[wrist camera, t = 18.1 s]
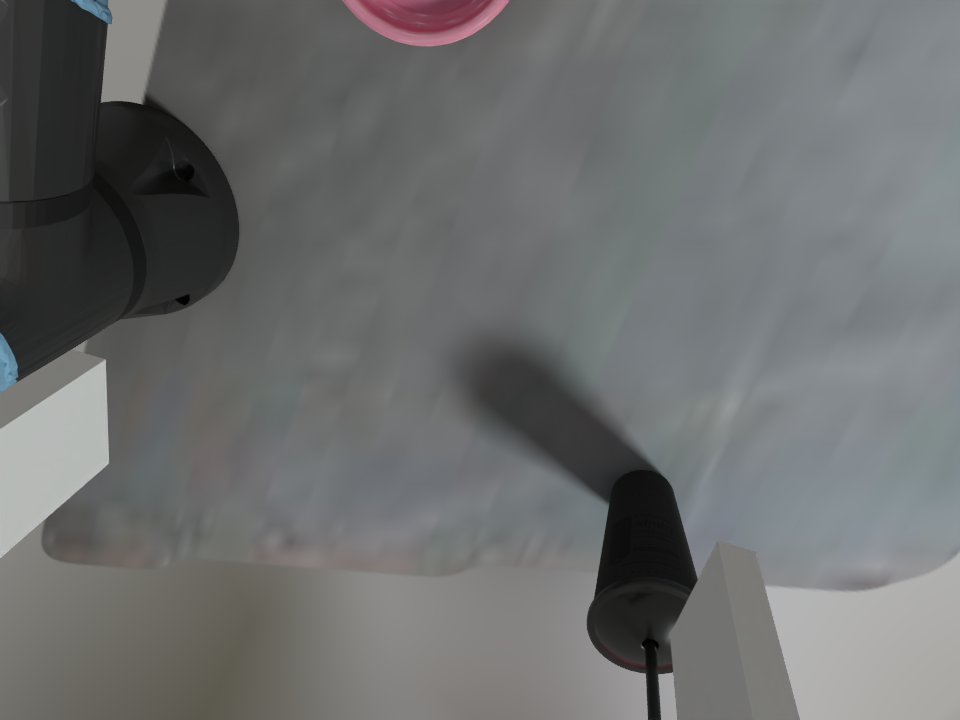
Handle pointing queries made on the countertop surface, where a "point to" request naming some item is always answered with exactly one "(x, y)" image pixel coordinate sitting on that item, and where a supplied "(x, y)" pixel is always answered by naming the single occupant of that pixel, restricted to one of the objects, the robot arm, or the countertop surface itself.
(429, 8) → the saucer
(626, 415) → the countertop surface
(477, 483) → the countertop surface
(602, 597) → the drinking cup
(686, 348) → the countertop surface
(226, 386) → the countertop surface
